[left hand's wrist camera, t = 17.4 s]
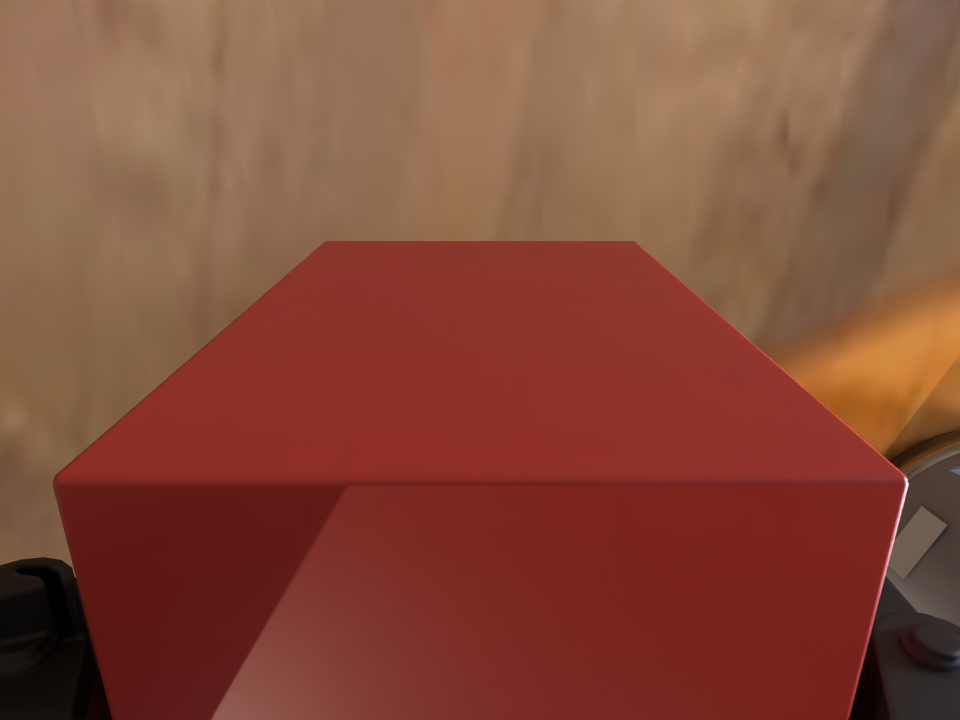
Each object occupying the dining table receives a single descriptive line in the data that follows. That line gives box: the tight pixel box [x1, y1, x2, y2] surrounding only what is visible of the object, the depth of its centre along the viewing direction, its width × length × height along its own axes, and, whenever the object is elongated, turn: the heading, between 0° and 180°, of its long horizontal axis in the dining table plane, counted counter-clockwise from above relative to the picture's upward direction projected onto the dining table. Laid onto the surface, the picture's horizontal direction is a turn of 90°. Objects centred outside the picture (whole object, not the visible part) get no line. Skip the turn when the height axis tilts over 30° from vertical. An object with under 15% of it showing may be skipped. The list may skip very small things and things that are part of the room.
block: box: [53, 241, 908, 720], centre depth 12 cm, size 8×7×11 cm
